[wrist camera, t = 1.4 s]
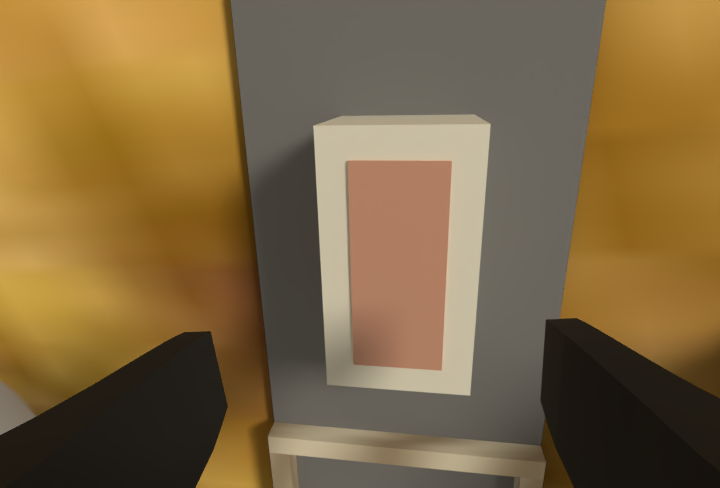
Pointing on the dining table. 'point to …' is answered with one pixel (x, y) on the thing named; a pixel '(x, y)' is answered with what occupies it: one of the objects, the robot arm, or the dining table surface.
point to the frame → (401, 453)
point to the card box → (401, 248)
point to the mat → (501, 211)
